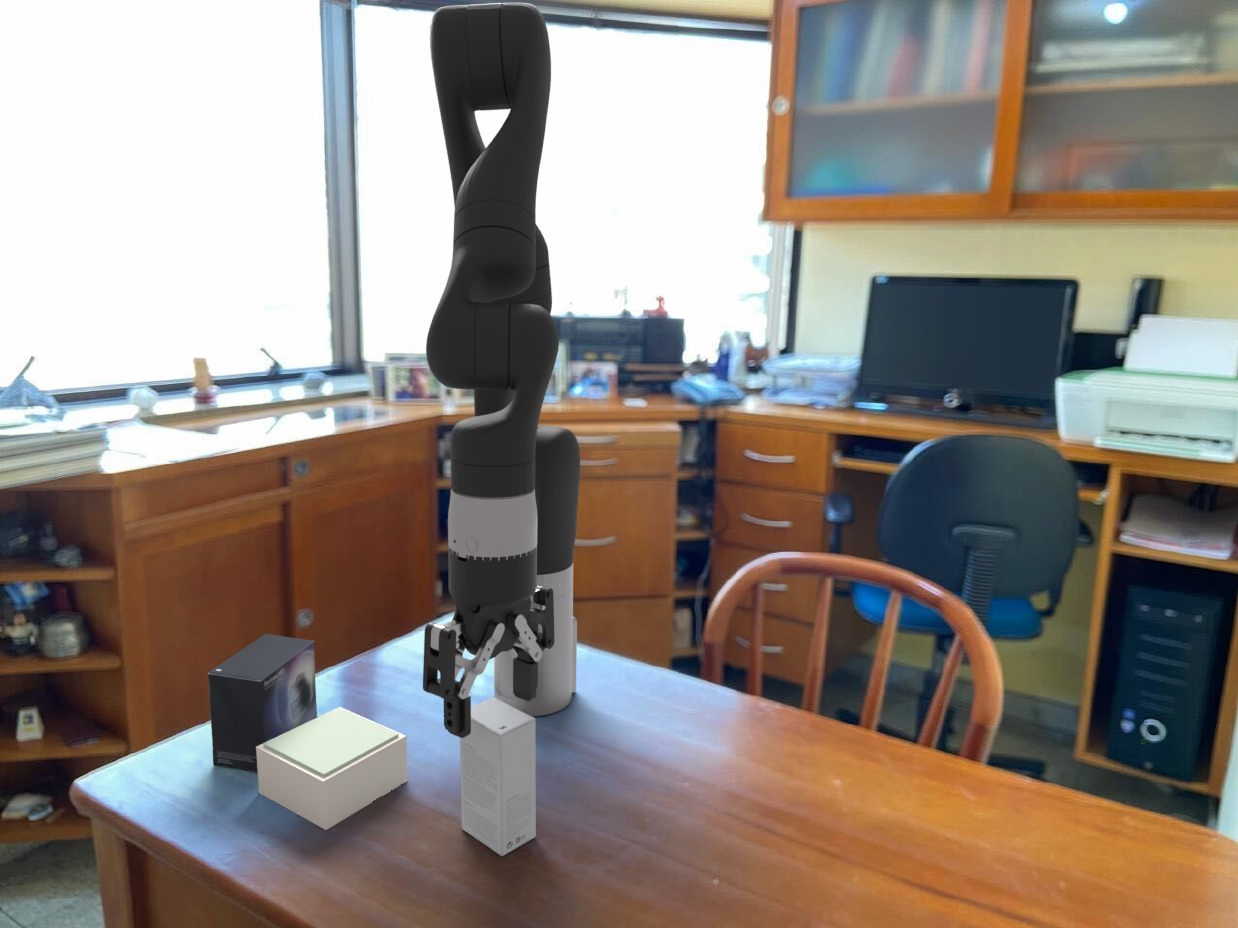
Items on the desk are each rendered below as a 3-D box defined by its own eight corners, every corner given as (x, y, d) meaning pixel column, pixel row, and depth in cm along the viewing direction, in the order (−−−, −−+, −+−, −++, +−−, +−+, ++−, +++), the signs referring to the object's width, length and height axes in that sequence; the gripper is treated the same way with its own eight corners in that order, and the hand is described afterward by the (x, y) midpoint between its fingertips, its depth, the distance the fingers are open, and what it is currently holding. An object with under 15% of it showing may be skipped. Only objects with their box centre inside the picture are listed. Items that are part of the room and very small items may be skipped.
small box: (268, 776, 93) (261, 680, 90) (210, 767, 94) (202, 673, 92) (321, 725, 103) (316, 637, 100) (269, 718, 104) (263, 631, 102)
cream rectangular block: (341, 749, 98) (339, 704, 97) (407, 780, 92) (406, 732, 91) (259, 792, 90) (255, 743, 89) (325, 829, 84) (323, 778, 83)
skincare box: (537, 837, 84) (538, 718, 81) (501, 858, 81) (500, 735, 78) (495, 809, 88) (494, 695, 85) (459, 828, 85) (457, 710, 82)
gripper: (515, 515, 86) (514, 676, 89) (398, 550, 75) (402, 733, 78) (578, 530, 82) (575, 698, 85) (465, 570, 70) (466, 762, 74)
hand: (492, 715), depth 82 cm, fingers open, 8 cm apart
